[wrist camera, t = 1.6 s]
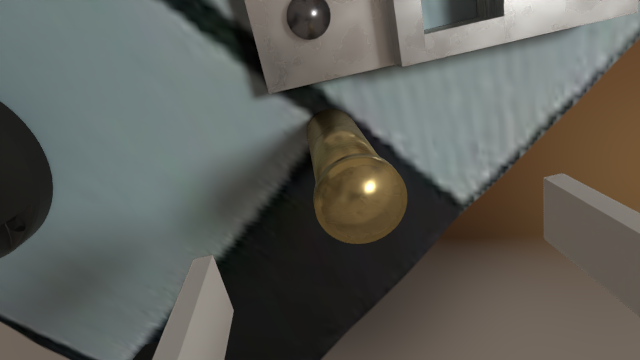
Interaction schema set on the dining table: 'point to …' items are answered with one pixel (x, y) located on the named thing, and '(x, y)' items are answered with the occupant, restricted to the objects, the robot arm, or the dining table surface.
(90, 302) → the dining table surface
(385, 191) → the brass pin
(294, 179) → the dining table surface
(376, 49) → the slotted metal plate
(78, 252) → the dining table surface
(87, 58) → the dining table surface
